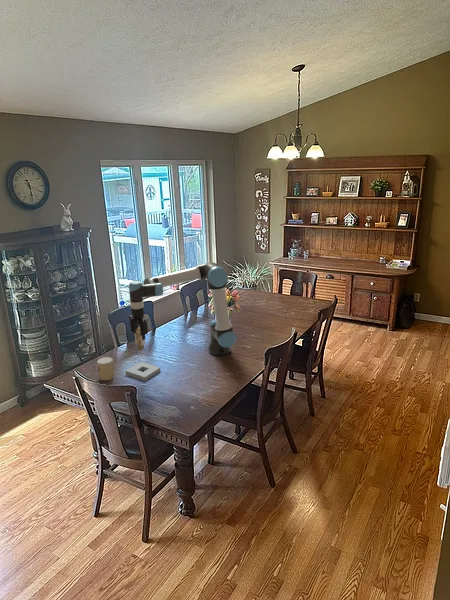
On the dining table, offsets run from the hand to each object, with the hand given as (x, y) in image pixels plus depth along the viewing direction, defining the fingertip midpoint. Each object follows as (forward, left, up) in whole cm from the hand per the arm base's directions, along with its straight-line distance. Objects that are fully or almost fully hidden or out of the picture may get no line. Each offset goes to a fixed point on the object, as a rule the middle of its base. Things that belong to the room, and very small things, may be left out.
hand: (140, 343), depth 248 cm
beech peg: (0, 0, -4) cm, 4 cm away
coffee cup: (+15, +16, -20) cm, 30 cm away
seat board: (0, 0, -20) cm, 20 cm away
